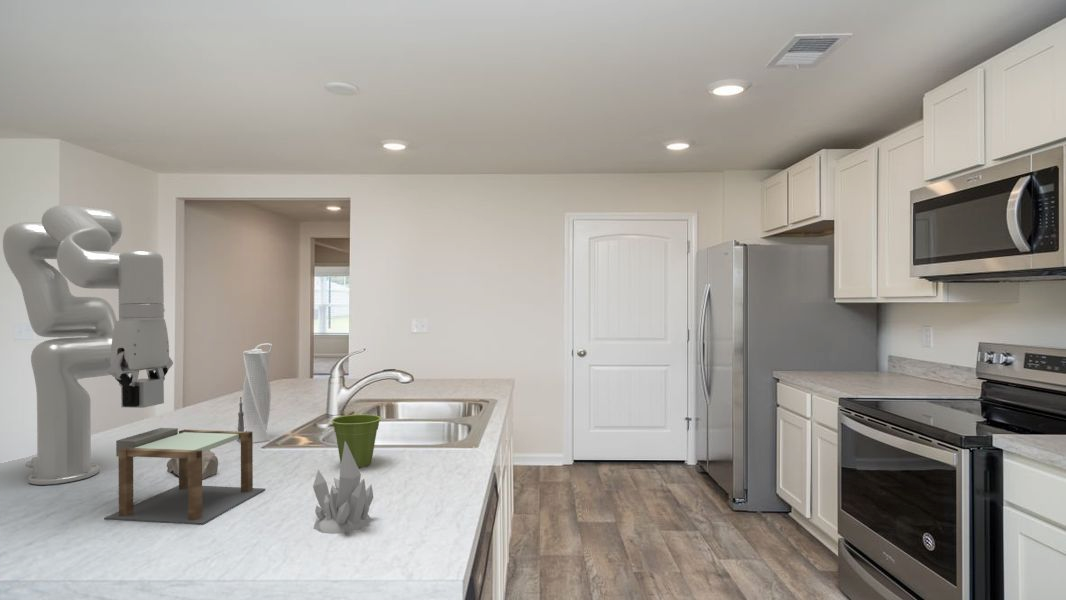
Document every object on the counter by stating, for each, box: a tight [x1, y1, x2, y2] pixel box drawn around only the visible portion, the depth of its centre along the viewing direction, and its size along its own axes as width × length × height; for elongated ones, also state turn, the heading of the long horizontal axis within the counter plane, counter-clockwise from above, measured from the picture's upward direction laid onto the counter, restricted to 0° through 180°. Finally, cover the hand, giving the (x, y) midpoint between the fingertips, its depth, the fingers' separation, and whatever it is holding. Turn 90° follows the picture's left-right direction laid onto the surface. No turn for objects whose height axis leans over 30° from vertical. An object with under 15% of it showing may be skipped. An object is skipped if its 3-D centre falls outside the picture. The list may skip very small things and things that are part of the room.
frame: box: [117, 429, 254, 520], centre depth 115 cm, size 16×17×13 cm
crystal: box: [312, 441, 374, 535], centre depth 106 cm, size 10×13×15 cm
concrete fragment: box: [166, 450, 219, 480], centre depth 135 cm, size 7×14×6 cm, turn 54°
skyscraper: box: [236, 342, 273, 444], centre depth 166 cm, size 8×8×28 cm
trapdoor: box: [115, 427, 239, 457], centre depth 116 cm, size 17×13×3 cm
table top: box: [103, 484, 266, 526], centre depth 115 cm, size 20×19×1 cm
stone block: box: [120, 378, 165, 409], centre depth 116 cm, size 5×5×5 cm
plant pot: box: [330, 413, 382, 468], centre depth 142 cm, size 12×12×11 cm
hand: (143, 402), depth 116 cm, fingers closed on stone block, 5 cm apart
